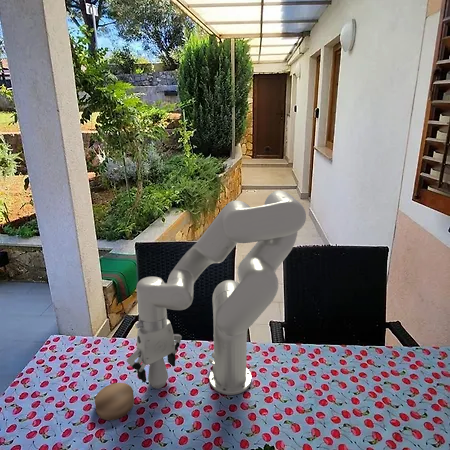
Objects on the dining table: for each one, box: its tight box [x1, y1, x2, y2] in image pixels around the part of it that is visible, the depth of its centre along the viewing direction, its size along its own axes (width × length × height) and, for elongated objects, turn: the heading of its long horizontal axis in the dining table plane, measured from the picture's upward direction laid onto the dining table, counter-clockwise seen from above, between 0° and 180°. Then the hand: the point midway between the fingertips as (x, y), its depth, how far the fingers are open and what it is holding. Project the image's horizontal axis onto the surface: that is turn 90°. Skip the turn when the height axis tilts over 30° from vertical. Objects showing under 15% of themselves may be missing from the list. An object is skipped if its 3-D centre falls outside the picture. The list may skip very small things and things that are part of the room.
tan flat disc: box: [94, 382, 135, 421], centre depth 93 cm, size 10×10×3 cm
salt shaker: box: [147, 357, 169, 389], centre depth 99 cm, size 6×6×13 cm
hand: (157, 371), depth 100 cm, fingers open, 9 cm apart
